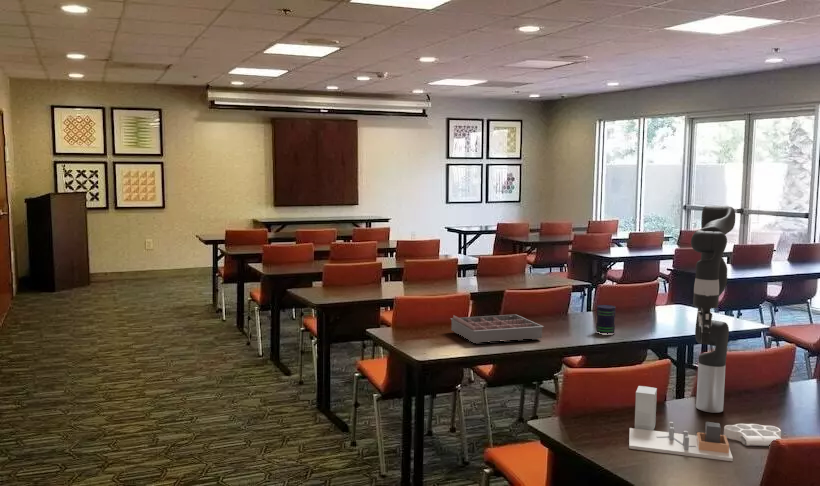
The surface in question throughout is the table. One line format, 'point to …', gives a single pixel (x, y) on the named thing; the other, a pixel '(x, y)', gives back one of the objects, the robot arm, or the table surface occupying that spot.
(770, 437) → the white brass knuckles
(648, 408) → the small box
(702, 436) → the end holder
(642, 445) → the board
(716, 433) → the dark grey block
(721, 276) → the robot arm
